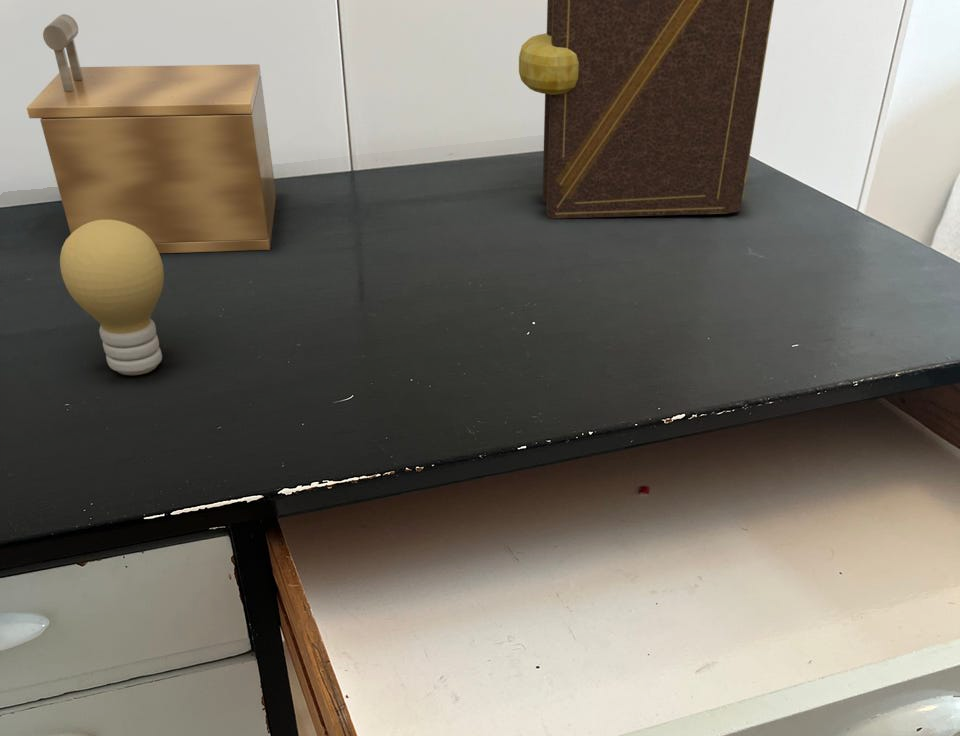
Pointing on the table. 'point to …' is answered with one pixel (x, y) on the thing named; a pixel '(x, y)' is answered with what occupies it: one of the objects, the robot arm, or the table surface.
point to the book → (647, 104)
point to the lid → (139, 85)
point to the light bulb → (117, 289)
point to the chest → (170, 176)
